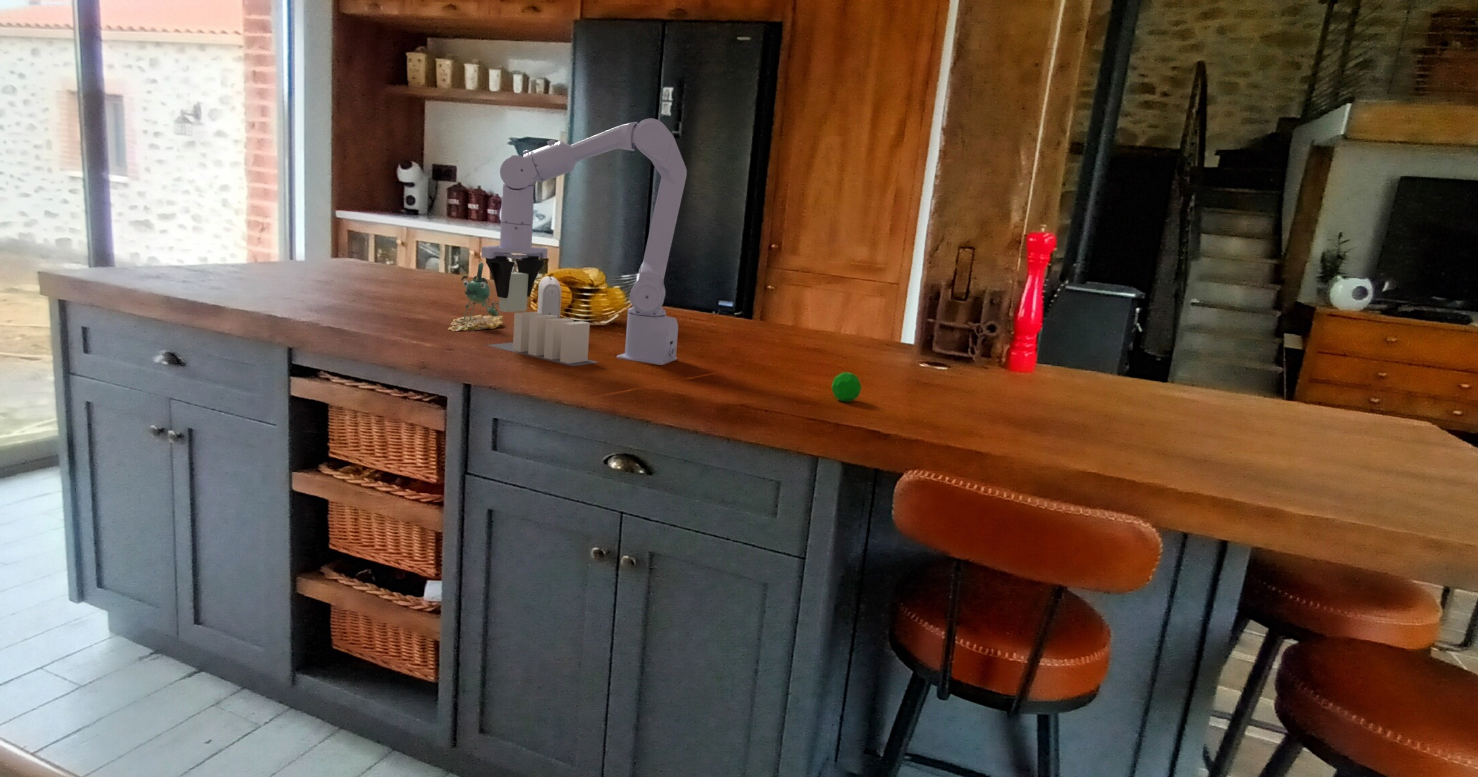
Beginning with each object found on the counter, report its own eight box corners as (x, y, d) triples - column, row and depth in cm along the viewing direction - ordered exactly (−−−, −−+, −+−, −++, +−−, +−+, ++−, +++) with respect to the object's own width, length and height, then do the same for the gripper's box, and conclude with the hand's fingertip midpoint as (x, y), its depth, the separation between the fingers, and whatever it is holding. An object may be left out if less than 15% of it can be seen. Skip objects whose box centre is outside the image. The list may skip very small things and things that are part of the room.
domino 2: (555, 353, 163) (557, 316, 162) (536, 355, 159) (537, 317, 158) (547, 351, 164) (549, 314, 163) (528, 353, 160) (529, 316, 159)
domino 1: (540, 349, 165) (541, 313, 164) (520, 352, 161) (522, 314, 160) (532, 347, 166) (534, 311, 165) (512, 350, 162) (514, 313, 161)
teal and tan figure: (525, 327, 192) (524, 260, 187) (468, 344, 176) (465, 272, 172) (491, 320, 196) (489, 254, 191) (432, 336, 180) (428, 265, 175)
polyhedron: (836, 403, 146) (839, 375, 145) (825, 396, 150) (829, 369, 149) (863, 404, 147) (867, 377, 146) (852, 397, 152) (856, 371, 151)
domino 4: (587, 360, 159) (589, 322, 158) (568, 363, 155) (570, 324, 153) (579, 358, 160) (581, 321, 159) (560, 361, 156) (562, 323, 154)
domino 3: (571, 357, 161) (573, 319, 160) (551, 359, 157) (554, 321, 156) (563, 355, 162) (565, 317, 161) (543, 357, 158) (545, 319, 157)
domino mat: (599, 363, 159) (599, 362, 159) (572, 367, 153) (572, 366, 153) (514, 343, 170) (514, 342, 170) (486, 346, 164) (486, 345, 164)
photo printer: (560, 340, 179) (563, 280, 177) (539, 339, 178) (542, 278, 175) (555, 331, 189) (558, 274, 186) (535, 330, 187) (538, 273, 185)
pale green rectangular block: (526, 310, 166) (528, 274, 164) (506, 312, 162) (508, 274, 160) (519, 309, 167) (520, 272, 165) (499, 310, 163) (500, 273, 161)
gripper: (530, 222, 169) (527, 292, 172) (470, 220, 157) (468, 295, 160) (556, 226, 165) (553, 297, 168) (498, 224, 153) (495, 300, 156)
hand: (513, 296), depth 164 cm, fingers closed on pale green rectangular block, 5 cm apart
